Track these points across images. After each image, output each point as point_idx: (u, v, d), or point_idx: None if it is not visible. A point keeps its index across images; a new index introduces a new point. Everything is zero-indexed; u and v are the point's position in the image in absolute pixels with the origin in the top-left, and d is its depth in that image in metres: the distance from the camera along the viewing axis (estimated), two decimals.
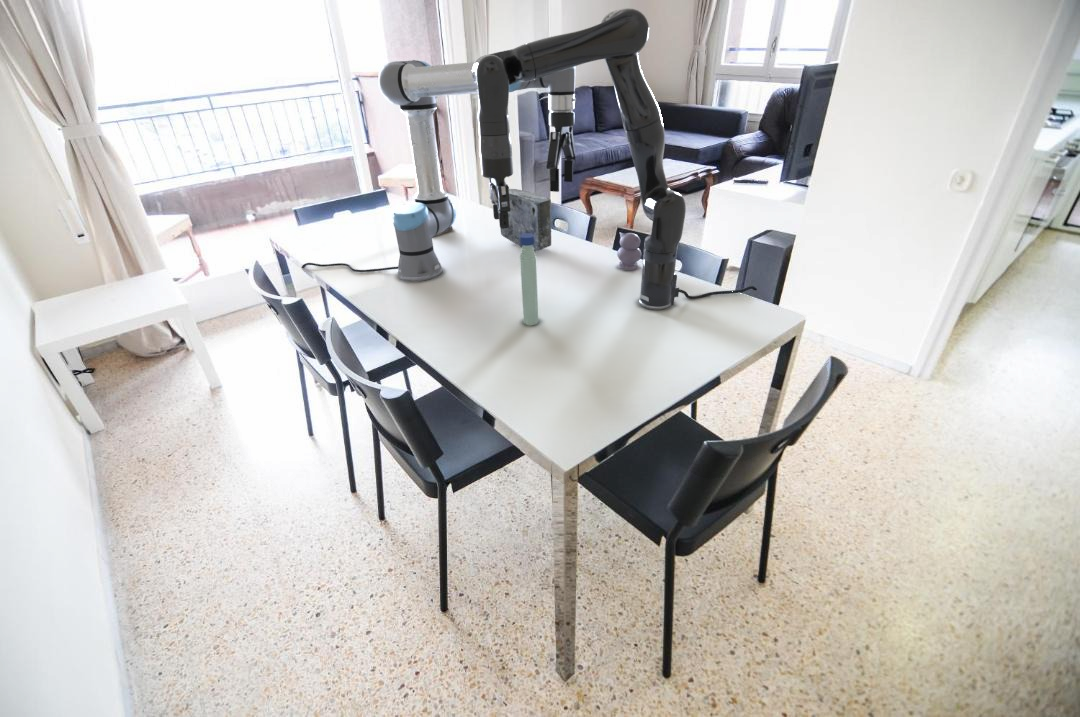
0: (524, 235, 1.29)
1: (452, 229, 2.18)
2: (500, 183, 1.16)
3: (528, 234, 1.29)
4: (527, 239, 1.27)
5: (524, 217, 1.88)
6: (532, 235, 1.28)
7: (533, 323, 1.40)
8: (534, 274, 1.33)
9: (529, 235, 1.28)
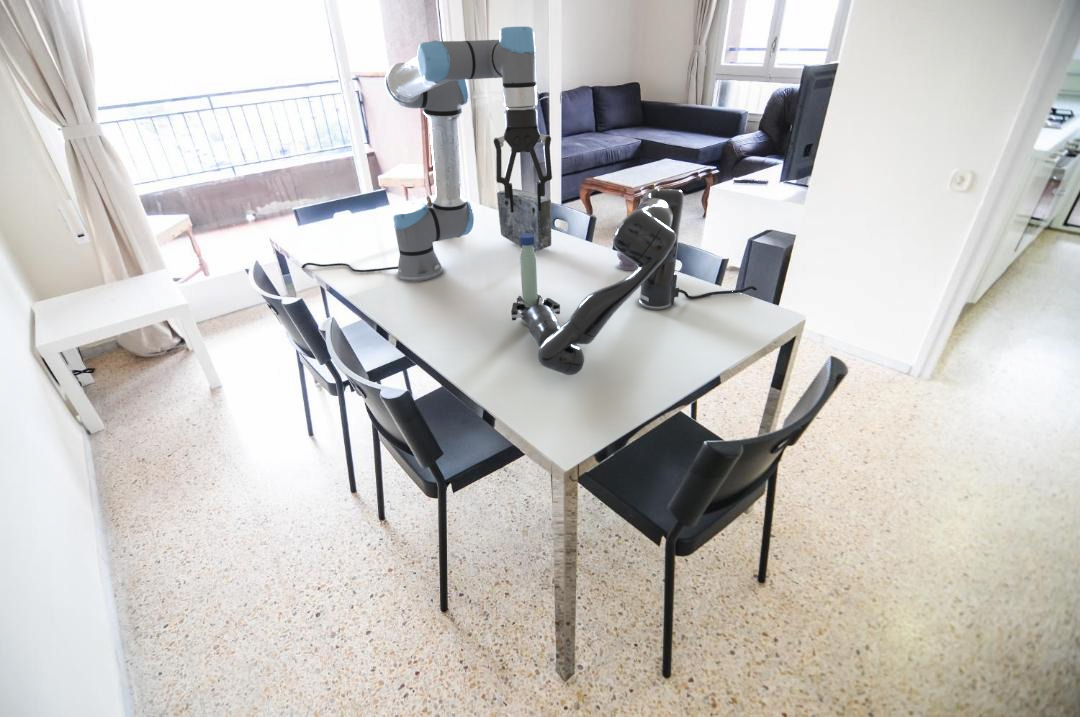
0: (524, 235, 1.29)
1: None
2: None
3: (528, 234, 1.29)
4: (527, 239, 1.27)
5: (524, 217, 1.88)
6: (532, 235, 1.28)
7: None
8: (534, 274, 1.33)
9: (529, 235, 1.28)
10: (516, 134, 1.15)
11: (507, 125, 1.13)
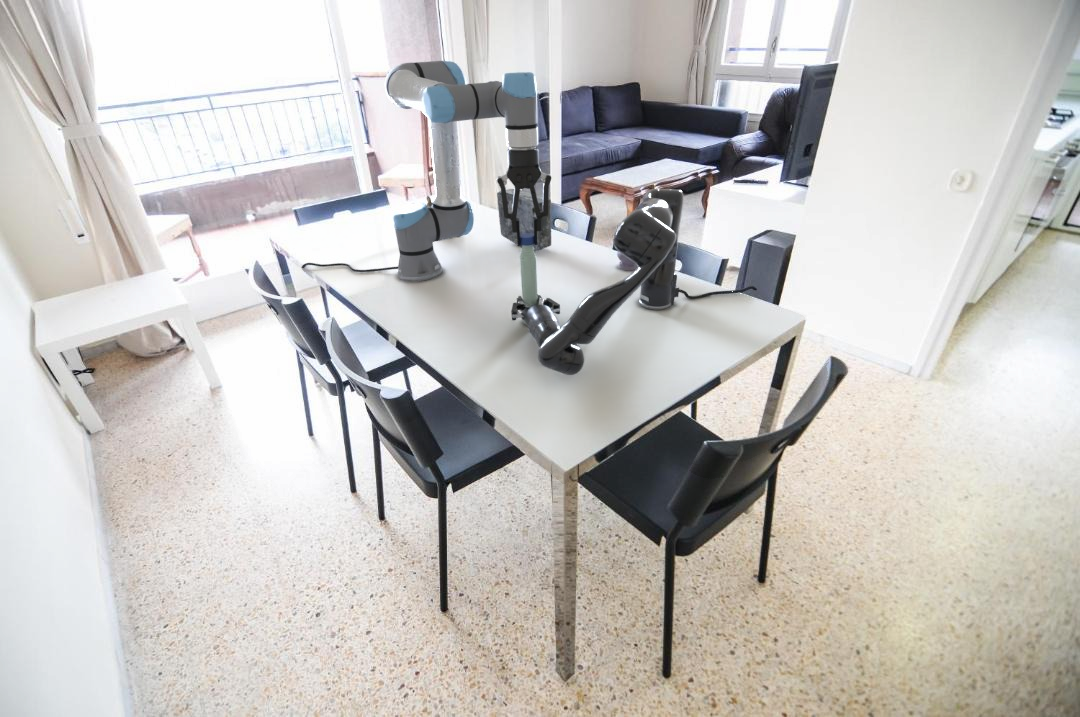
0: (524, 235, 1.29)
1: None
2: None
3: (528, 234, 1.29)
4: (527, 239, 1.27)
5: (524, 217, 1.88)
6: (532, 235, 1.28)
7: None
8: (534, 274, 1.33)
9: (529, 235, 1.28)
10: (518, 172, 1.19)
11: (509, 164, 1.17)
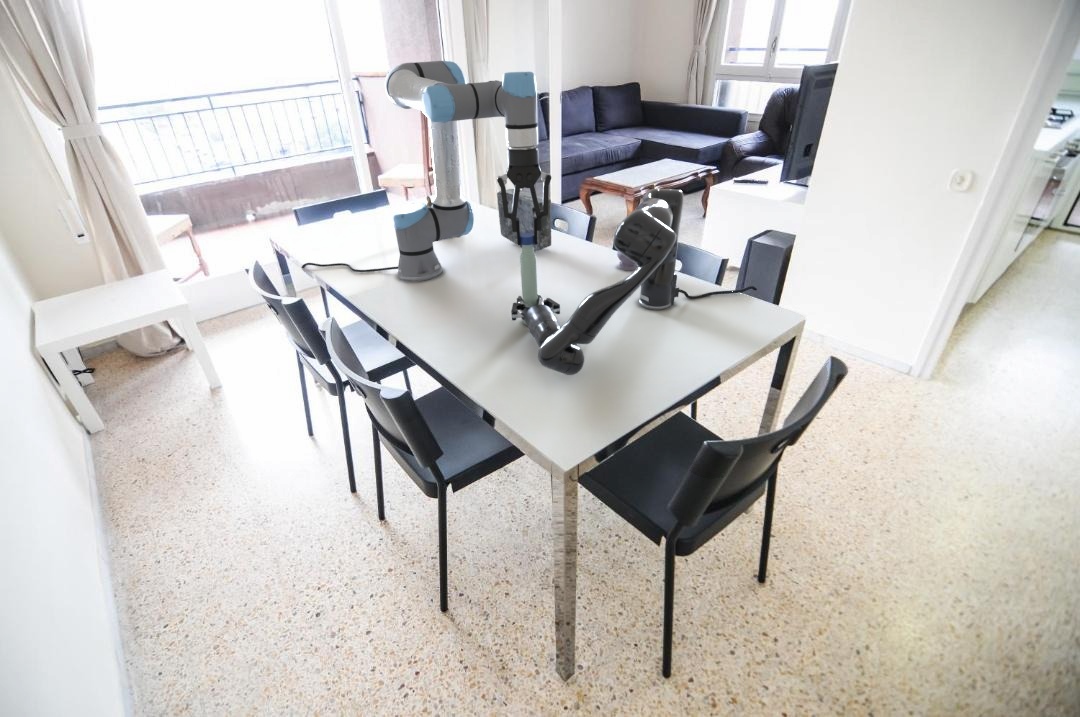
0: (526, 235, 1.28)
1: None
2: None
3: (524, 234, 1.29)
4: None
5: (524, 217, 1.88)
6: (526, 233, 1.30)
7: None
8: (534, 274, 1.33)
9: (526, 234, 1.29)
10: (518, 171, 1.19)
11: (509, 163, 1.17)
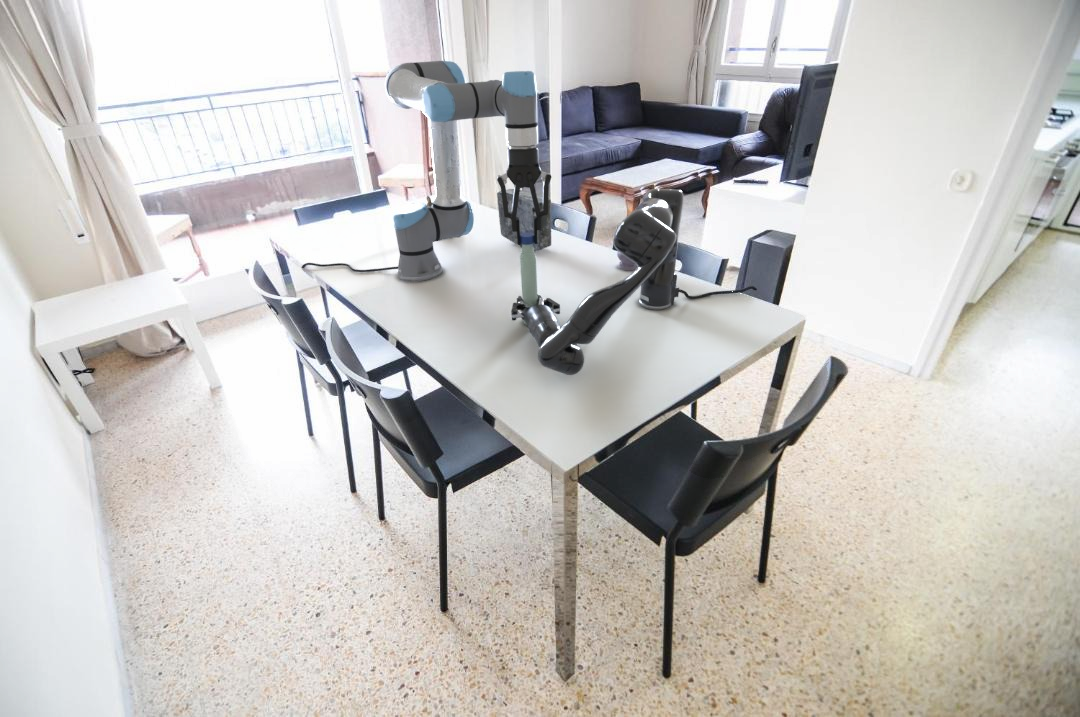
0: (529, 234, 1.28)
1: None
2: None
3: (526, 235, 1.28)
4: None
5: (524, 217, 1.88)
6: (521, 235, 1.28)
7: None
8: (534, 274, 1.33)
9: (524, 235, 1.28)
10: (518, 171, 1.19)
11: (509, 163, 1.17)
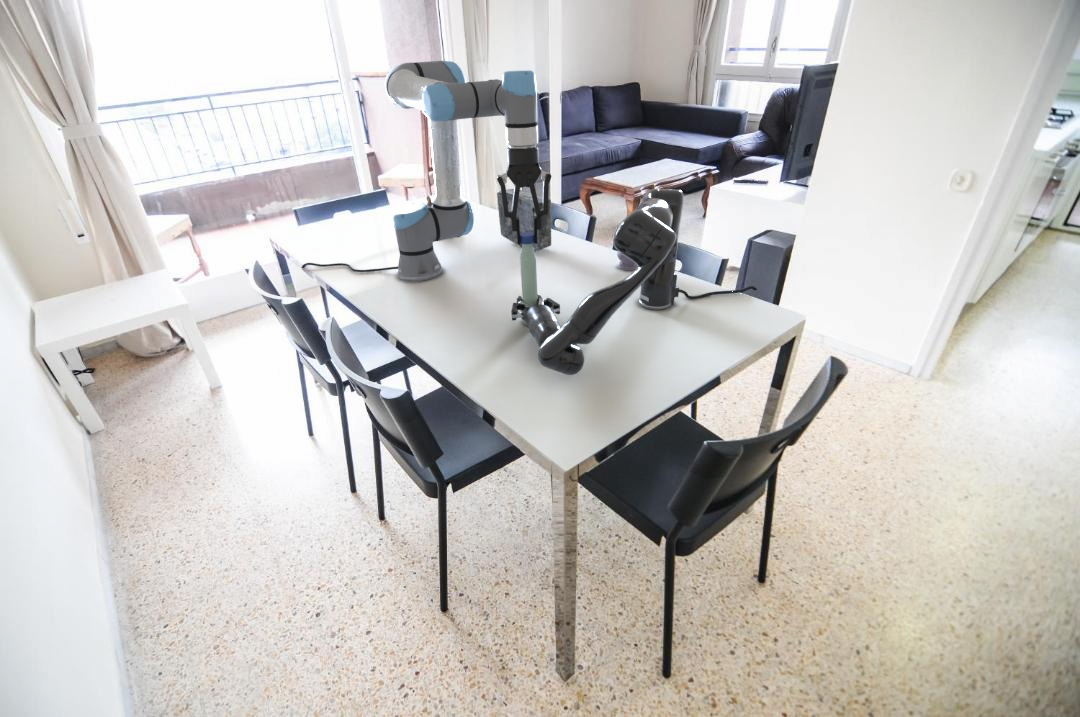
0: (526, 233, 1.29)
1: None
2: None
3: (529, 234, 1.28)
4: (521, 237, 1.28)
5: (524, 217, 1.88)
6: (529, 235, 1.27)
7: None
8: (534, 274, 1.33)
9: (528, 234, 1.28)
10: (518, 170, 1.19)
11: (509, 162, 1.17)
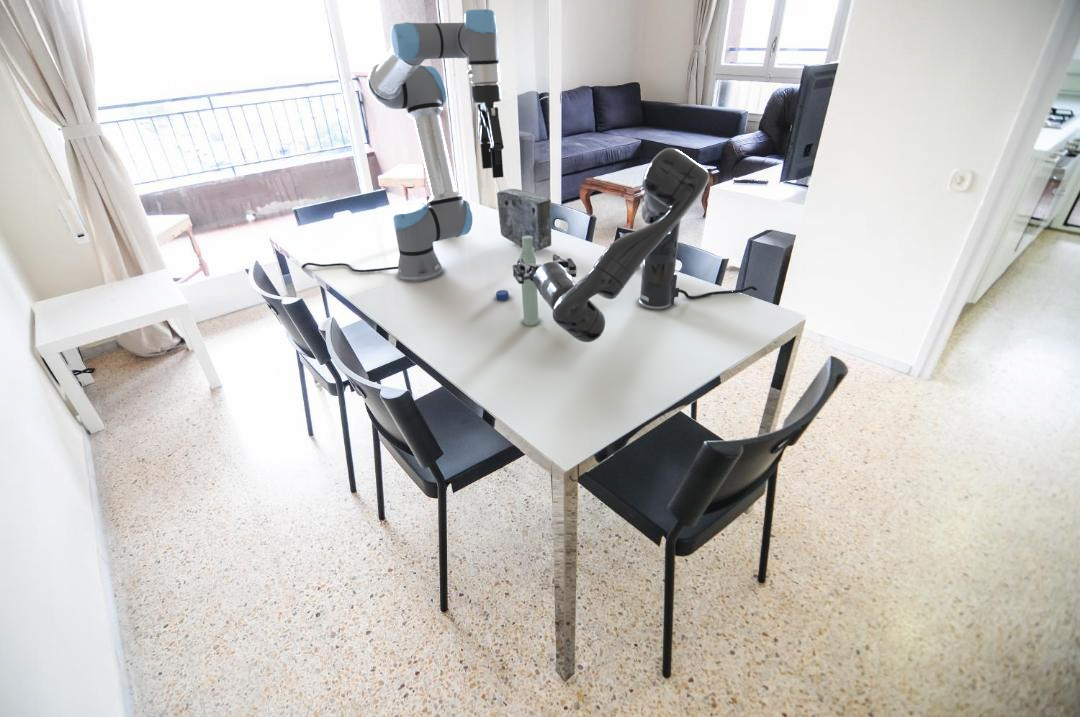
0: (503, 292, 1.54)
1: None
2: None
3: (500, 292, 1.55)
4: None
5: (524, 217, 1.88)
6: (498, 291, 1.56)
7: (533, 323, 1.40)
8: None
9: (500, 291, 1.55)
10: None
11: (496, 99, 1.25)
